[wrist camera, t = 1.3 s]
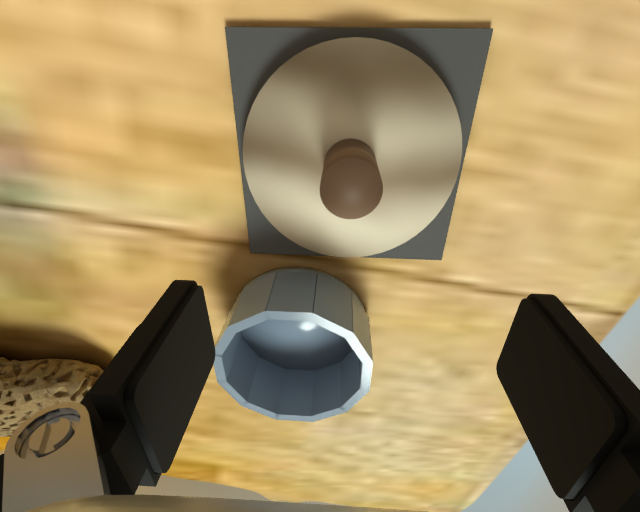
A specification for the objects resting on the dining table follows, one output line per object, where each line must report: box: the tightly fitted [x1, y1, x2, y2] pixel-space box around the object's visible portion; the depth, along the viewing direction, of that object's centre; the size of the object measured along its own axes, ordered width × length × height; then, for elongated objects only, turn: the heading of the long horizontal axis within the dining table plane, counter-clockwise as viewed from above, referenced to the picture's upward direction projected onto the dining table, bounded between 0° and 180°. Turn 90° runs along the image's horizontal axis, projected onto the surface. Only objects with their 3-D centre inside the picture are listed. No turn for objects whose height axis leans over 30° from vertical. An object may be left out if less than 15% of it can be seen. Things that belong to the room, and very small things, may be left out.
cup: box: [213, 267, 373, 422], centre depth 31 cm, size 13×13×6 cm
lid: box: [243, 37, 462, 258], centre depth 22 cm, size 15×15×6 cm
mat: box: [225, 27, 493, 260], centre depth 25 cm, size 16×16×1 cm
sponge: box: [0, 357, 103, 437], centre depth 37 cm, size 13×8×20 cm
